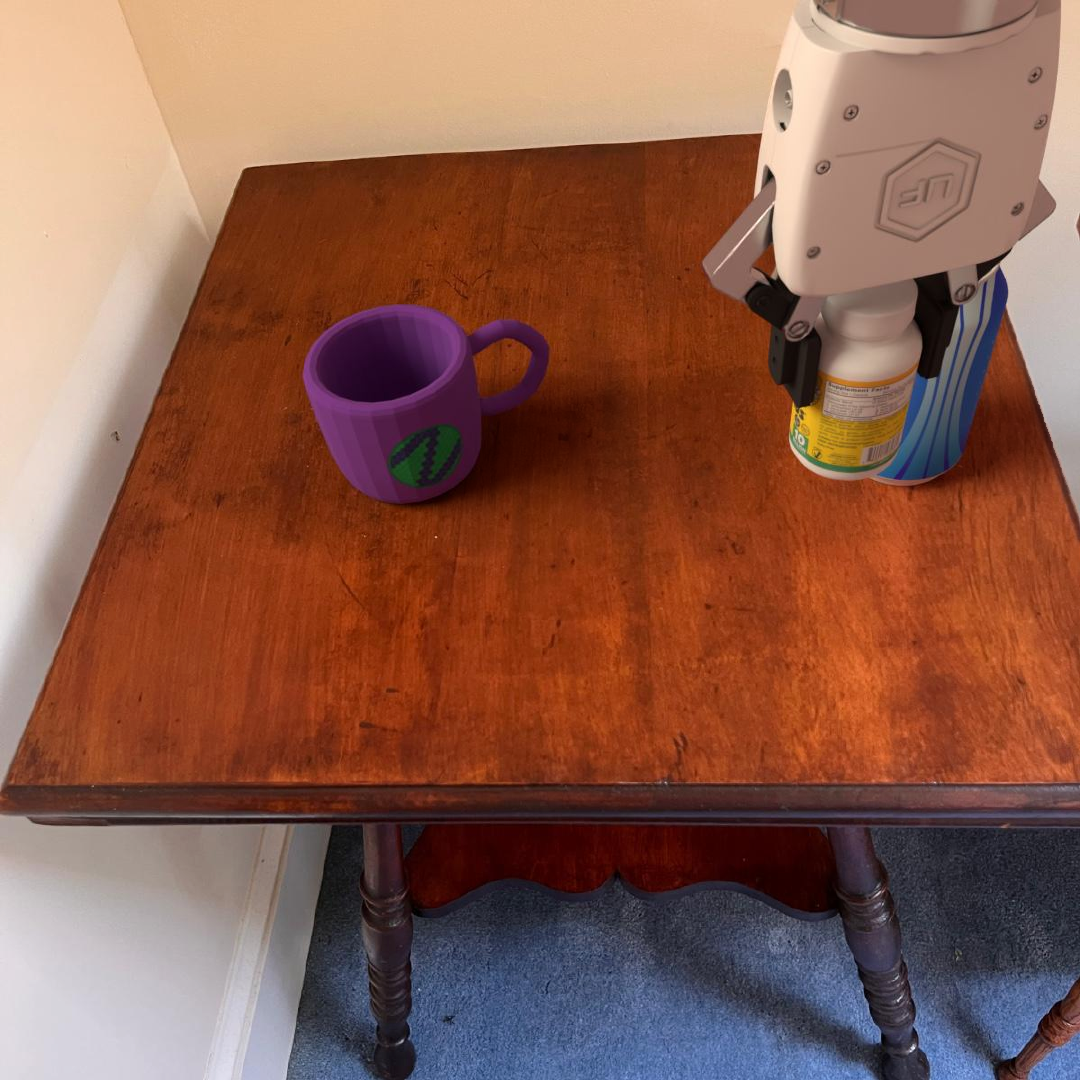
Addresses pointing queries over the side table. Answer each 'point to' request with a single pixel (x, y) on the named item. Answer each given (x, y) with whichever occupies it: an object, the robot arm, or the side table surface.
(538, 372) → the mug
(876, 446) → the supplement bottle
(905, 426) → the beer can
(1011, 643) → the side table surface
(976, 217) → the robot arm
